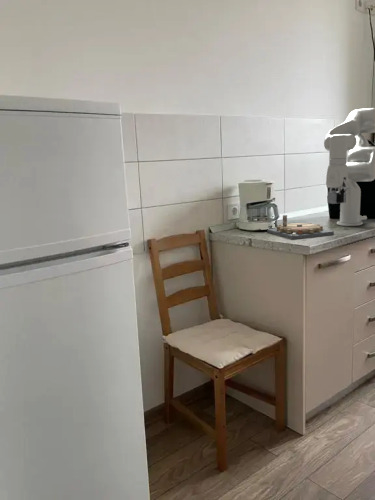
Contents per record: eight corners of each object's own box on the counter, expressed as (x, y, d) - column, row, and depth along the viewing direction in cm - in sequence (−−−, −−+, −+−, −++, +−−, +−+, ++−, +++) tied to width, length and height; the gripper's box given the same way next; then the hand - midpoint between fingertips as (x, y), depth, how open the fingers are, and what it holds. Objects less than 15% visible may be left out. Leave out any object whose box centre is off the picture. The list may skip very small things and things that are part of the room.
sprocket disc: (272, 227, 213) (272, 214, 212) (313, 225, 214) (314, 212, 213) (283, 234, 193) (283, 219, 192) (329, 232, 194) (329, 217, 193)
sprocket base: (305, 228, 218) (305, 223, 217) (333, 234, 198) (333, 229, 197) (267, 232, 211) (267, 227, 210) (292, 239, 190) (292, 234, 190)
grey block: (327, 202, 202) (327, 191, 201) (339, 201, 204) (340, 189, 203) (333, 203, 198) (333, 191, 197) (346, 202, 200) (346, 190, 199)
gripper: (319, 162, 204) (318, 201, 208) (343, 163, 188) (342, 204, 192) (332, 161, 206) (331, 199, 210) (357, 162, 191) (355, 203, 195)
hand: (336, 201), depth 201 cm, fingers closed on grey block, 4 cm apart
